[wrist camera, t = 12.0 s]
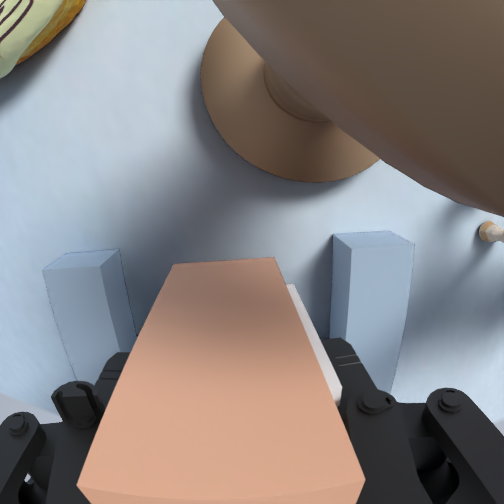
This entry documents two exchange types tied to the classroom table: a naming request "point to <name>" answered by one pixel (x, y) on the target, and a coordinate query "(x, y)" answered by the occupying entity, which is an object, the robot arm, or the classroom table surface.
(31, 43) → the decorated donut
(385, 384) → the u-shaped block
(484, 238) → the unicorn figurine
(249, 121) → the bobbin
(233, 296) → the tab
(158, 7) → the classroom table surface
